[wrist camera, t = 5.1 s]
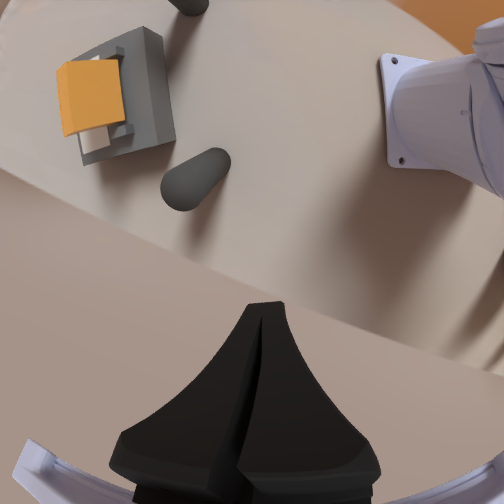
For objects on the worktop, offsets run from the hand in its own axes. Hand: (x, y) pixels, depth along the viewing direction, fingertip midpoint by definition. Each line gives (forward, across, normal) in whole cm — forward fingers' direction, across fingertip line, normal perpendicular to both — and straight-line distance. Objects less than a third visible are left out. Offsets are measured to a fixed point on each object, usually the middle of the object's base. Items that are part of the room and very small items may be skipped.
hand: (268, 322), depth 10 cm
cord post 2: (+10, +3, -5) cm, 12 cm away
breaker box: (+10, +8, -11) cm, 17 cm away
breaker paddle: (+7, +7, -11) cm, 15 cm away
